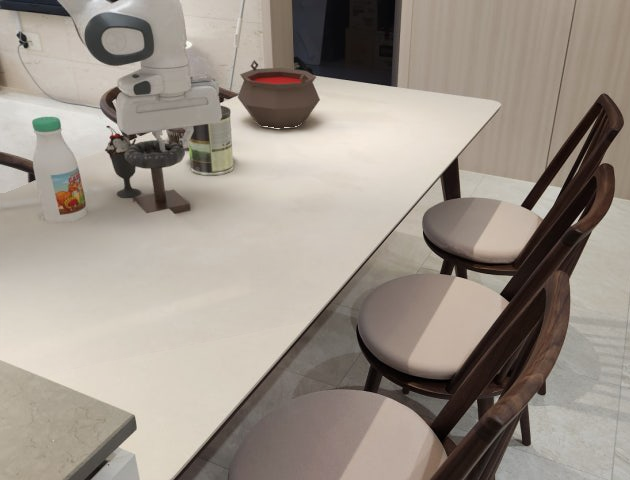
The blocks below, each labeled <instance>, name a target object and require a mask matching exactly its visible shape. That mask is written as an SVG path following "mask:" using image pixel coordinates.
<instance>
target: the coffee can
mask: <svg viewBox="0 0 630 480" xmlns="http://www.w3.org/2000/svg"><path fill="white" fill-rule="evenodd" d="M220 106H221V112H222V118H221V120H220V121H219V122H218V123H211V124H203V125H196V126H193V128H194V132H193V134H192V136H191V138H190V140H189V143H190V148H189V150H188V151H189V152H188V153H189V162H190V170H191V172H193V173H194V174H197V175H201V176H221V175H225V174H228V172H229V173H230V172H232V171H233V170H234V169H235V166H234V155H233V154H234V153H233V140H232V124H231V122H232V121H231V113H232V111H231V109H230V108H229V107H227V106H224V105H221V104H220Z"/></svg>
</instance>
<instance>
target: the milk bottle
mask: <svg viewBox="0 0 630 480" xmlns="http://www.w3.org/2000/svg"><path fill="white" fill-rule="evenodd" d="M31 124H32V128H33V132H34V133H35V135H36V143H35V148H34V152H33V157H32V168H33V172H34V179H35V182H36V183H35V184H36V187H37V192H38V196H39V202H40V204H41V209H42V213H43V217H44V220H46V221H48V222H52V223H69V222H74V221H77V220H80V219H82V218H84V217H85V216H86V215H87V214H88V208H87V202H86V198H85V193H84V188H83V187H84V186H83V182H82V177H81V173H80V170H79V165H78V161H77V158H76V156H75V153H74V152H73V151H72V149H71V148H70V147H69V145H68V144H67V142H66V140H65V139H64V137H63V135H62V131H63V129H62V123H61V120H60V118H58V117H56V116H41V117H37V118H34V119H32V122H31Z"/></svg>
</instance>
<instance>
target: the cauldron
mask: <svg viewBox="0 0 630 480" xmlns="http://www.w3.org/2000/svg"><path fill="white" fill-rule="evenodd" d="M254 65H255V66H254ZM258 66H259V63H258V62H257V61H256V60H255V59H253V60H252V63H251V64H250V67H251V69H250V70H248V71H245V72H242V73H240V74H239V75H240V77H241V78H242V79H243V82H242V84H241V87H240V90H239V91H238V95H237V99H238V101H240V103H241V104H242V106H243V107H244V108H245V110H246V111H247V112H248V114H249V116H251V118H252V119H253V121H254V120H255V121H256V122H257V123H258V124H259V125H261V126H268V127H274V128H284V127H295V126H298V125H300V124H301V123H303V122H304V123H305V122H306V121H307V120H308V118H309V116H310V115H311V114H312V112H313V110H315V108H316V107H317V105H318V104H319V102H320V100H321V99H320V96H319V94H318V91H317V89H316V87H315V84H314V82H315V79H316V78H317V76H316V75H314V74H312V73H310V72H309V71H307V70H302V69H295V68H286V67H269V68H268V67H267V68H258ZM255 121H254V122H255ZM256 122H255V123H256ZM257 123H256V124H257ZM304 123H303V124H304ZM258 124H257V125H258ZM259 125H258V126H259ZM261 126H260V127H261ZM300 126H301V125H300ZM298 127H299V126H298Z"/></svg>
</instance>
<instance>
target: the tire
mask: <svg viewBox="0 0 630 480" xmlns="http://www.w3.org/2000/svg"><path fill="white" fill-rule="evenodd" d="M162 140H163V141H167V142H169V148H170V151H166V152H162V151H161V150H160V146H159V142H158V140H157V139H152V140H145V141H139V142H137V143H136V142H135V144H134V145H131V146H130V147H129V148H128V149H127V150H126V152H125V155H124V156H125V159H126V160H127V161H128V162H129V163H130V164H131V165H132V166H135V167H136V168H140V169H146V170H147V169H148V170H149V169H150V170H151V169H158V168H162V169H163V168H169V167H172V166H175V165H177V164H179V163H181V162H182V161H183V159H184V157H185V153H186V152H185V151H186V150H184V149H183V148H182V147H181V146H180V145H179V144H177V143H175V142H171V141H169V140H166V139H165V140H164V139H162ZM152 152H159V153H158V154H149V153H152Z"/></svg>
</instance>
